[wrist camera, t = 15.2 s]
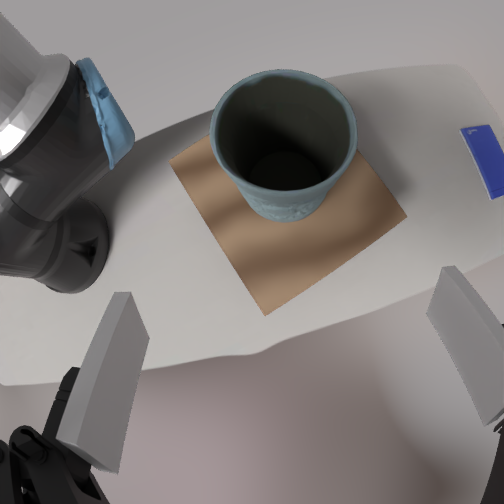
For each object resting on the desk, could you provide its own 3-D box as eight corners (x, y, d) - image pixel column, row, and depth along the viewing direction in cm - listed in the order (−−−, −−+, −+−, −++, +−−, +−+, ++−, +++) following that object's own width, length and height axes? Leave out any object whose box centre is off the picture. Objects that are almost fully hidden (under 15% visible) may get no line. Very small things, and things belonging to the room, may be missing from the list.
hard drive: (461, 128, 35) (493, 199, 34) (489, 124, 35) (519, 189, 33) (457, 132, 37) (487, 201, 35) (485, 128, 36) (514, 192, 34)
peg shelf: (189, 184, 40) (168, 161, 32) (296, 118, 39) (297, 84, 32) (269, 311, 36) (264, 316, 28) (384, 232, 36) (407, 216, 28)
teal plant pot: (289, 126, 31) (287, 51, 19) (354, 190, 29) (389, 133, 17) (217, 182, 31) (180, 123, 19) (280, 254, 29) (276, 227, 17)
